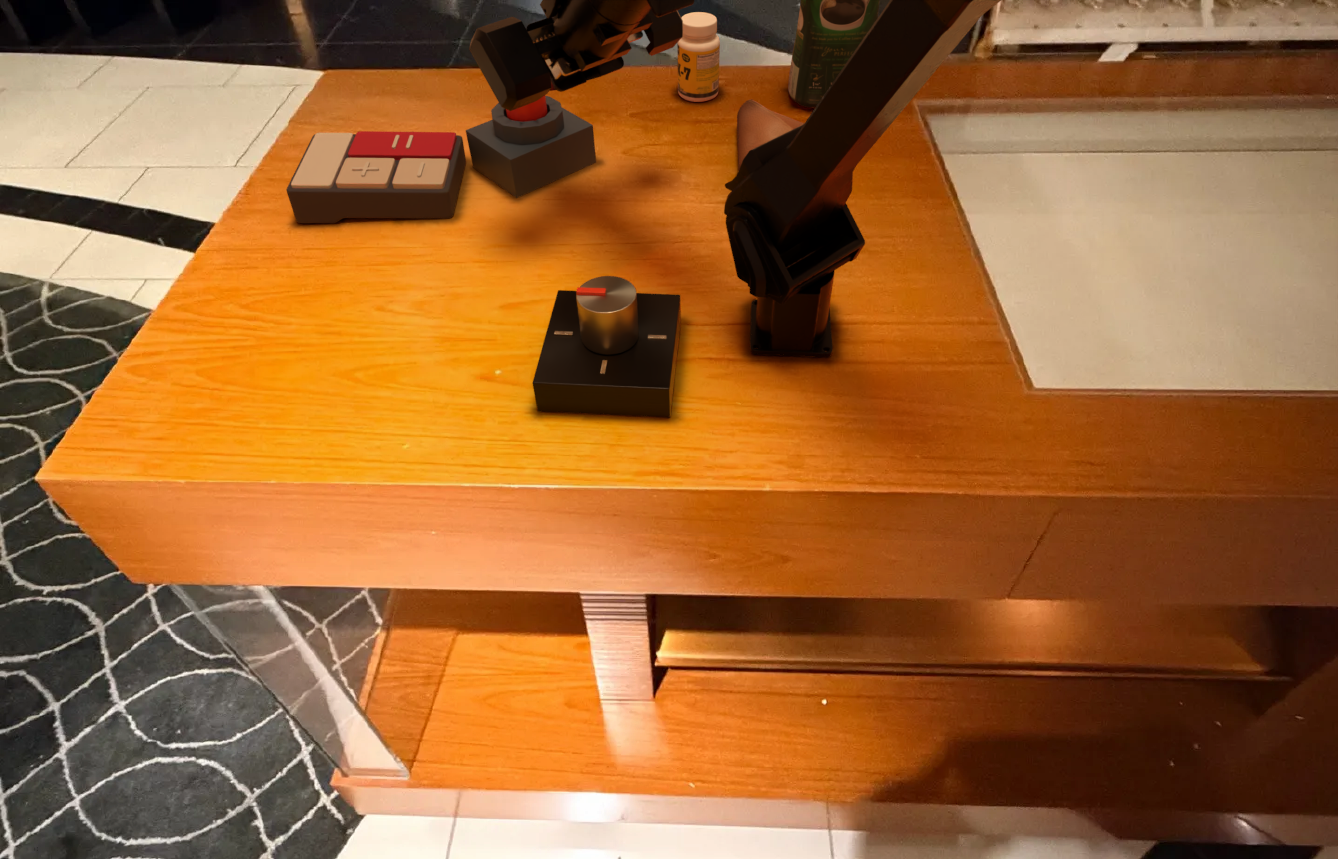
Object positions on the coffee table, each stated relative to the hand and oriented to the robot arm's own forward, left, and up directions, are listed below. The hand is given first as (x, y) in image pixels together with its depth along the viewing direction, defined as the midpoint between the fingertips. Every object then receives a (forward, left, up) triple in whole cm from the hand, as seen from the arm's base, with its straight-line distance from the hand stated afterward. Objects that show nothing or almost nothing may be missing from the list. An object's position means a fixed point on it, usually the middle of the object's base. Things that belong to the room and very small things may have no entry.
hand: (549, 84), depth 79 cm
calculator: (-3, +17, -10) cm, 20 cm away
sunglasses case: (+3, -22, -10) cm, 24 cm away
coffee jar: (+20, -28, -10) cm, 36 cm away
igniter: (+3, +3, -10) cm, 11 cm away
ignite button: (+3, +3, -5) cm, 7 cm away
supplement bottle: (+20, -13, -10) cm, 26 cm away
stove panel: (-27, -9, -10) cm, 30 cm away
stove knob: (-27, -9, -7) cm, 29 cm away
